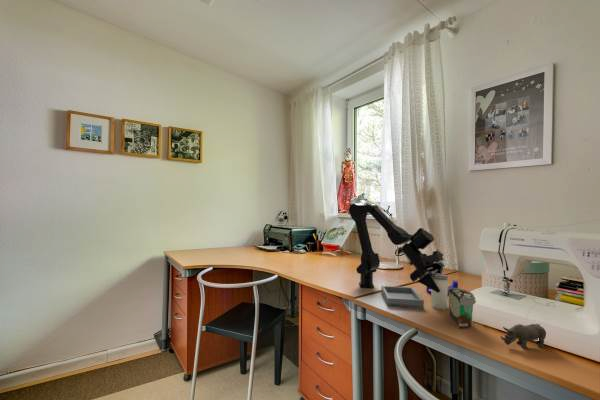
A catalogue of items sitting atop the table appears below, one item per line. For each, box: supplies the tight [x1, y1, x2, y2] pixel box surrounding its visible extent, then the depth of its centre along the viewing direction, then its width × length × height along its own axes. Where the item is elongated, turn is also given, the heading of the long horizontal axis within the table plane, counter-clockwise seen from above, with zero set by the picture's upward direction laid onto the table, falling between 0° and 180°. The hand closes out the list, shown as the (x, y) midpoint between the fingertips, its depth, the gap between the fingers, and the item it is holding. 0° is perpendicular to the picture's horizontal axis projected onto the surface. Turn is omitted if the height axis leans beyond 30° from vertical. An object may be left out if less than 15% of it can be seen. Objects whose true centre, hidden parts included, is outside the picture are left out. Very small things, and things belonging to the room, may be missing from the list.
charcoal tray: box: [380, 285, 425, 309], centre depth 113 cm, size 16×13×3 cm
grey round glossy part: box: [430, 273, 449, 310], centre depth 106 cm, size 6×6×12 cm
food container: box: [448, 286, 477, 330], centre depth 92 cm, size 12×6×10 cm, turn 168°
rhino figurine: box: [500, 323, 547, 350], centre depth 78 cm, size 4×14×6 cm, turn 97°
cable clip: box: [426, 280, 459, 296], centre depth 123 cm, size 12×4×6 cm, turn 68°
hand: (443, 290), depth 105 cm, fingers open, 6 cm apart
